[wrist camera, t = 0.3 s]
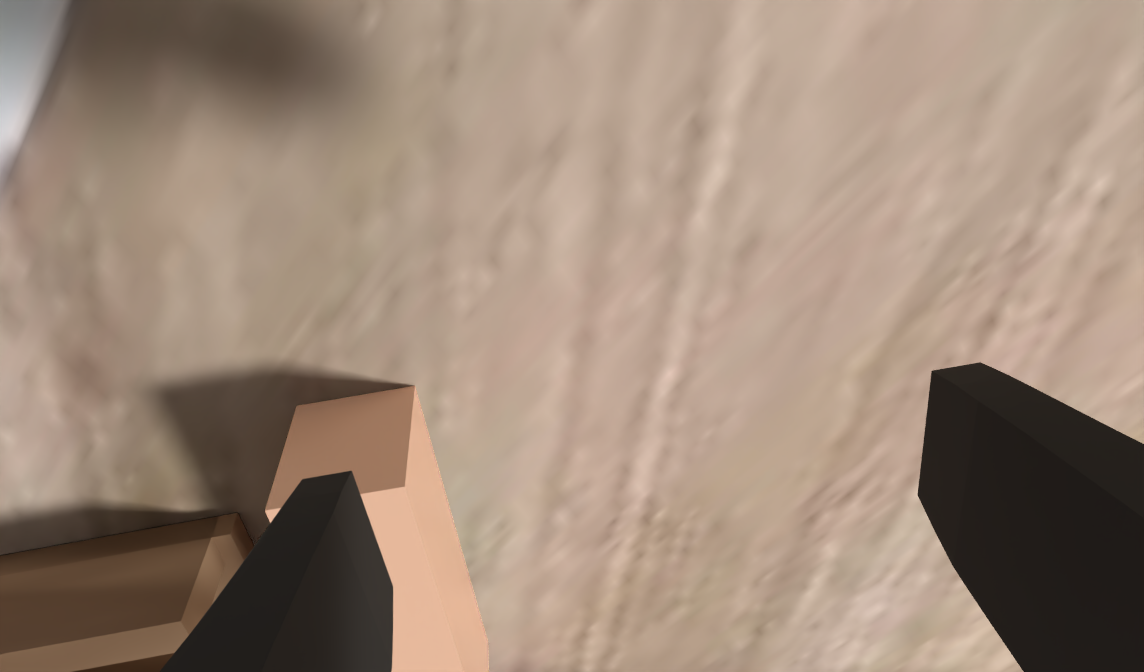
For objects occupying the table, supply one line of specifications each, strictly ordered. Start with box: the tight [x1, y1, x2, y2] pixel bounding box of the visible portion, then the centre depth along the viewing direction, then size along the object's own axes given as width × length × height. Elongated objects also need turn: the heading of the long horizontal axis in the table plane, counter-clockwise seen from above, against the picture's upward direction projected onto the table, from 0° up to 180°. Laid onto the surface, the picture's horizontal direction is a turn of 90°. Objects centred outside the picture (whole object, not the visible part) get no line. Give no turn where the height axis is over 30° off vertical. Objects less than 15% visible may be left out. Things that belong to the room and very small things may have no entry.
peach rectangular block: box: [265, 386, 489, 672], centre depth 22 cm, size 10×3×4 cm, turn 8°
